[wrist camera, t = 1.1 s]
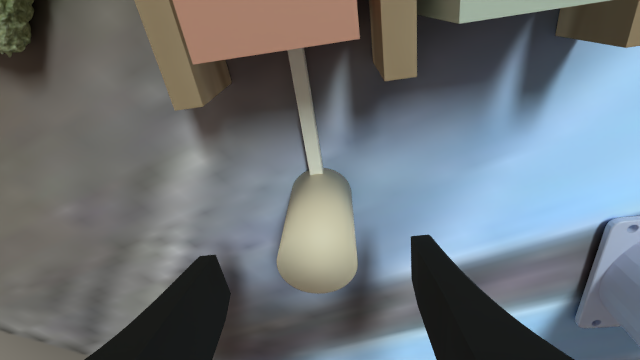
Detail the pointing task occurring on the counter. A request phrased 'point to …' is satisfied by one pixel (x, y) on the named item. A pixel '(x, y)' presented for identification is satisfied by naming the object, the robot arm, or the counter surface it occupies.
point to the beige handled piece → (317, 183)
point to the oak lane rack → (386, 33)
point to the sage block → (488, 8)
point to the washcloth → (15, 25)
